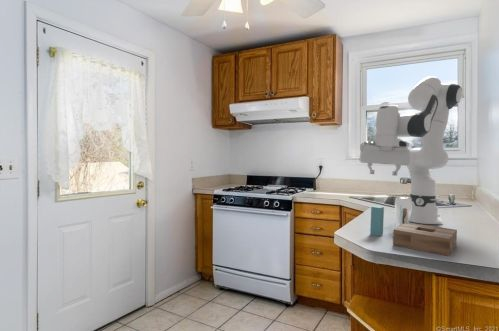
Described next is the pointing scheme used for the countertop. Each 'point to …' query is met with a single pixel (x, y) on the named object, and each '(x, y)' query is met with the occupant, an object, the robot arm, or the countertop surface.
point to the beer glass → (403, 210)
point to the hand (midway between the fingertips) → (383, 174)
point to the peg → (377, 220)
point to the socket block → (425, 238)
